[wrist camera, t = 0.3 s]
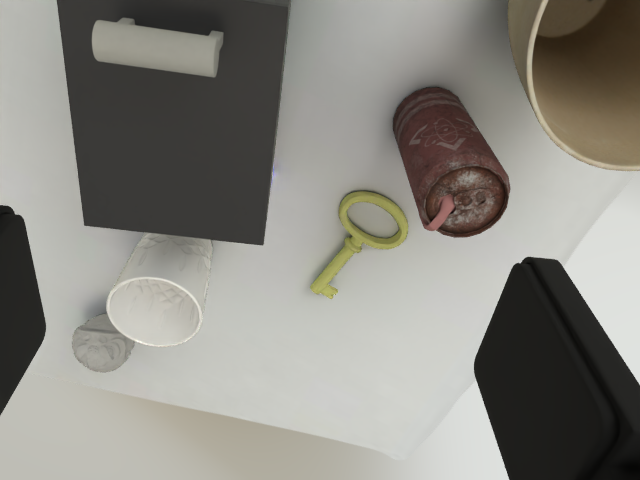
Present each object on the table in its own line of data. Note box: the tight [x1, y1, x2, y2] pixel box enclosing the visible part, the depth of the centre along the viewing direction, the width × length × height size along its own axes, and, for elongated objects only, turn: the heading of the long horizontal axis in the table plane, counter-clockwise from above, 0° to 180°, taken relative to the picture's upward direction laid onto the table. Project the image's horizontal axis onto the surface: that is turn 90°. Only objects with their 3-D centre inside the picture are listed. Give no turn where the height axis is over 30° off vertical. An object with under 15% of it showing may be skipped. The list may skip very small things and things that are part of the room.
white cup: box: [106, 232, 213, 347], centre depth 49 cm, size 8×8×10 cm
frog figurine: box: [72, 314, 134, 372], centre depth 56 cm, size 6×7×7 cm
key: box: [310, 191, 408, 299], centre depth 53 cm, size 7×12×2 cm, turn 162°
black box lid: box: [57, 0, 289, 245], centre depth 33 cm, size 17×13×6 cm
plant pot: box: [508, 0, 640, 171], centre depth 33 cm, size 15×15×16 cm
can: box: [393, 87, 510, 238], centre depth 40 cm, size 6×6×14 cm
